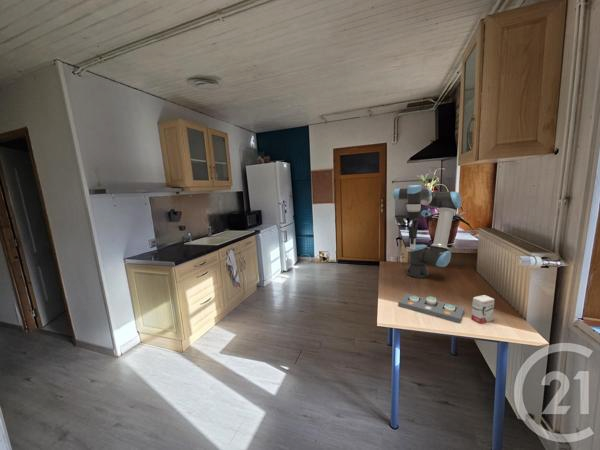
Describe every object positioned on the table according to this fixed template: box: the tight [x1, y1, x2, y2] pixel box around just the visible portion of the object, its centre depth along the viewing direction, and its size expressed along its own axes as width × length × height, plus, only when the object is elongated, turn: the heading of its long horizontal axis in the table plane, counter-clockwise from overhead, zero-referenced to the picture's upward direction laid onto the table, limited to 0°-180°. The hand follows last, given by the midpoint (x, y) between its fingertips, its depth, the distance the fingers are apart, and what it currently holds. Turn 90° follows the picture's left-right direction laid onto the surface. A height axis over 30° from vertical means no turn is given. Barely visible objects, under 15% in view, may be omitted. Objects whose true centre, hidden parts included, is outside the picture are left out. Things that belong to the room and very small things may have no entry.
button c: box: [444, 303, 456, 312], centre depth 130 cm, size 5×5×4 cm
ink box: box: [471, 294, 495, 324], centre depth 121 cm, size 9×5×12 cm, turn 106°
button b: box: [426, 295, 437, 307], centre depth 136 cm, size 5×5×4 cm
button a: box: [410, 295, 419, 302], centre depth 142 cm, size 5×5×4 cm
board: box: [397, 293, 465, 324], centre depth 135 cm, size 14×30×3 cm, turn 49°
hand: (412, 248), depth 150 cm, fingers closed
